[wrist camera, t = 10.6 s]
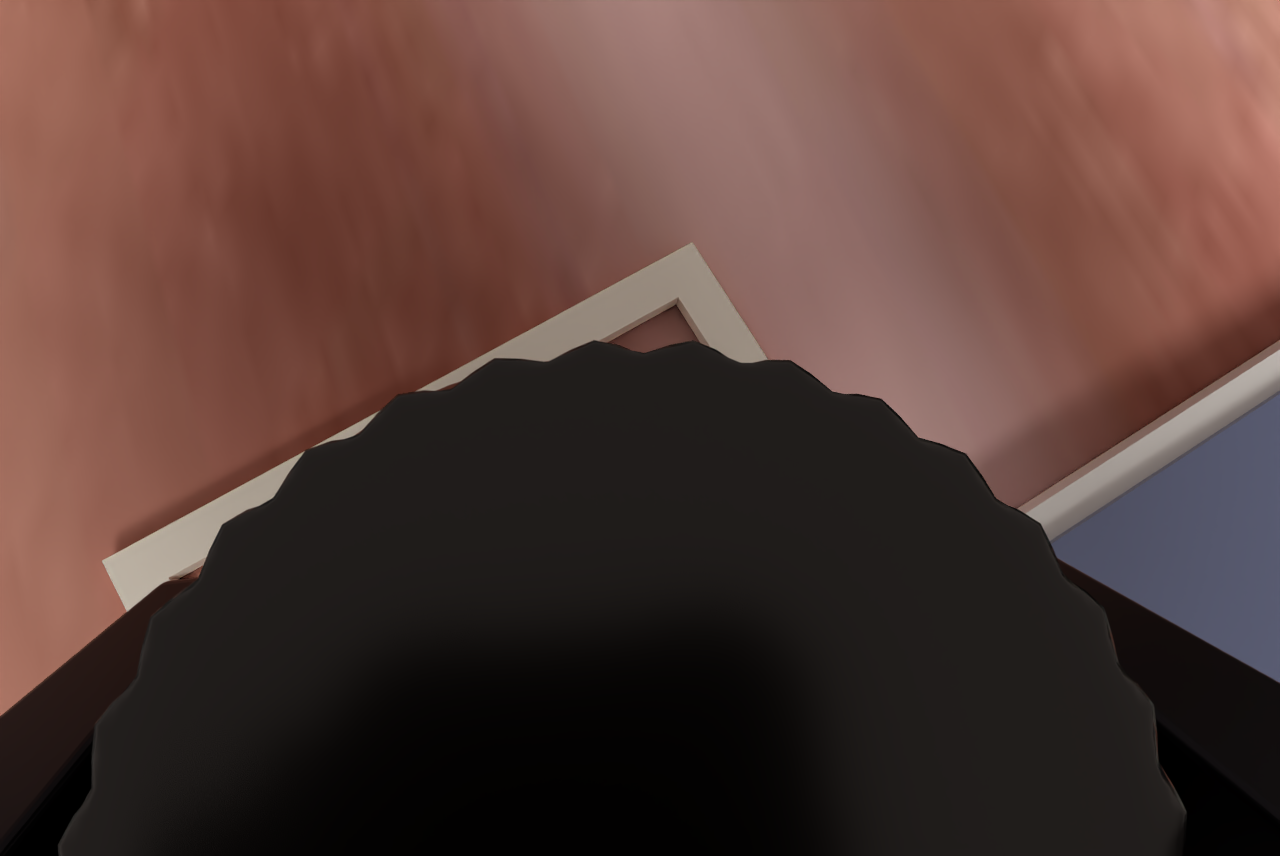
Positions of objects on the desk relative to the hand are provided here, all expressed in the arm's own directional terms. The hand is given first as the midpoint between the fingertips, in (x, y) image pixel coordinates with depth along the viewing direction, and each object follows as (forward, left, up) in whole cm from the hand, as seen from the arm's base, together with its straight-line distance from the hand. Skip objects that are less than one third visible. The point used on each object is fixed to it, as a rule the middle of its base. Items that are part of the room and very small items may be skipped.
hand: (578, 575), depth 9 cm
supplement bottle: (-1, -2, -7) cm, 7 cm away
